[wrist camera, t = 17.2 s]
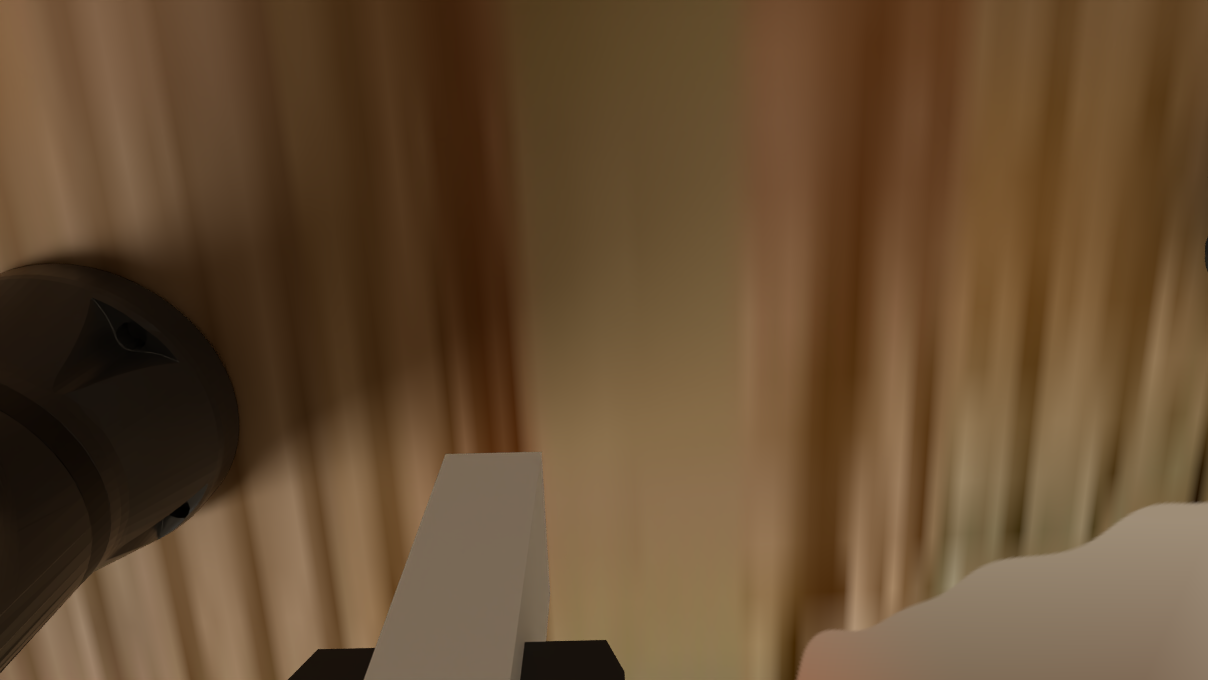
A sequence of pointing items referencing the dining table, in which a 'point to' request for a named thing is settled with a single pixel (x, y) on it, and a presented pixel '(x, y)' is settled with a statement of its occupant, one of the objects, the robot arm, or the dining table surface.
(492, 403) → the dining table surface
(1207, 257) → the squash
